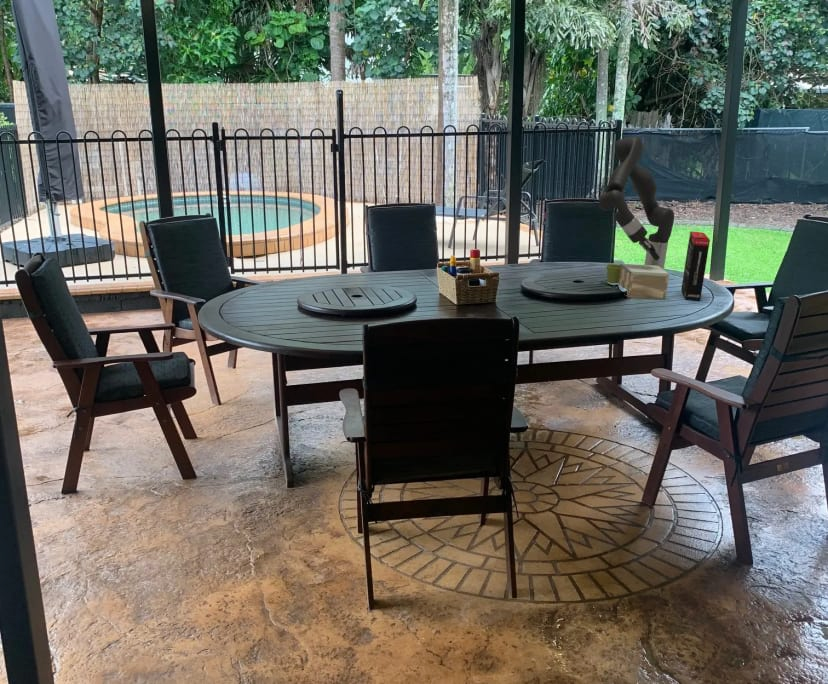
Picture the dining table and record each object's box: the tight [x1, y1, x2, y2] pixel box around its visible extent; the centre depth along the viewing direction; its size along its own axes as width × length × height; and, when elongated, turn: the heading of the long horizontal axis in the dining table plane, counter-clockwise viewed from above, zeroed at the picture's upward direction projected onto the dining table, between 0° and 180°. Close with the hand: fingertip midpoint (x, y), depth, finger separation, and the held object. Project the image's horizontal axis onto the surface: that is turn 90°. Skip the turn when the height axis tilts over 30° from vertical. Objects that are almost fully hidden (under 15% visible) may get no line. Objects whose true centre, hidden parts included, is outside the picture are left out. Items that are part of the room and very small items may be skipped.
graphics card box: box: [681, 230, 711, 301], centre depth 335 cm, size 17×7×27 cm, turn 168°
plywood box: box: [619, 267, 670, 300], centre depth 336 cm, size 16×16×10 cm
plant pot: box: [605, 263, 621, 283], centre depth 350 cm, size 9×9×9 cm
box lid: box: [619, 263, 670, 277], centre depth 334 cm, size 16×17×1 cm
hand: (657, 259), depth 336 cm, fingers closed
